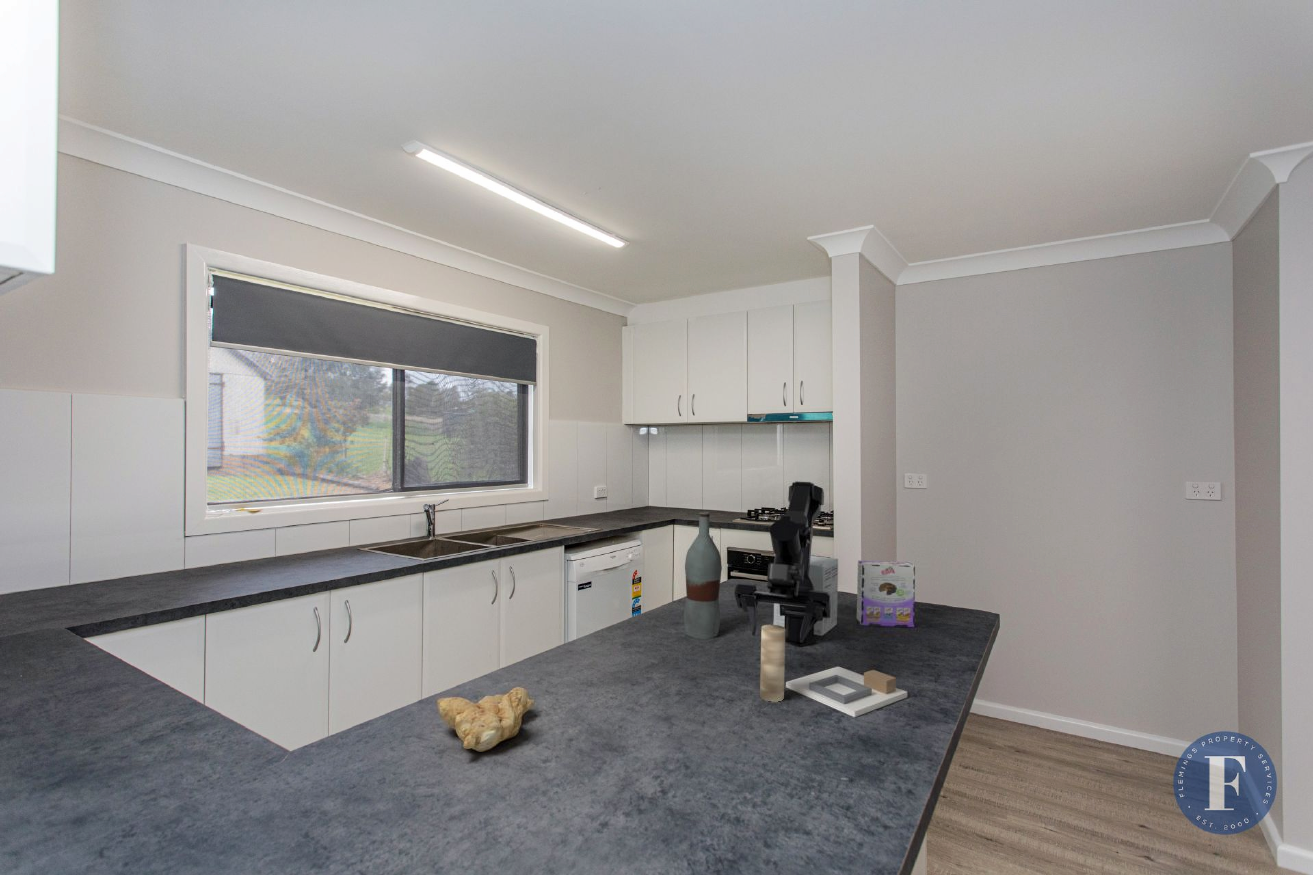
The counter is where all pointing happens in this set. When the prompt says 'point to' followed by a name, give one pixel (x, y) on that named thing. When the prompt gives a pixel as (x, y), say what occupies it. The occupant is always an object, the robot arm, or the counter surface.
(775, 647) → the wooden column
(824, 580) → the supplement box
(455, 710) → the ginger root
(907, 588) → the candy box
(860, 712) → the plate
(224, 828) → the counter surface
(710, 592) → the bottle
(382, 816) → the counter surface
